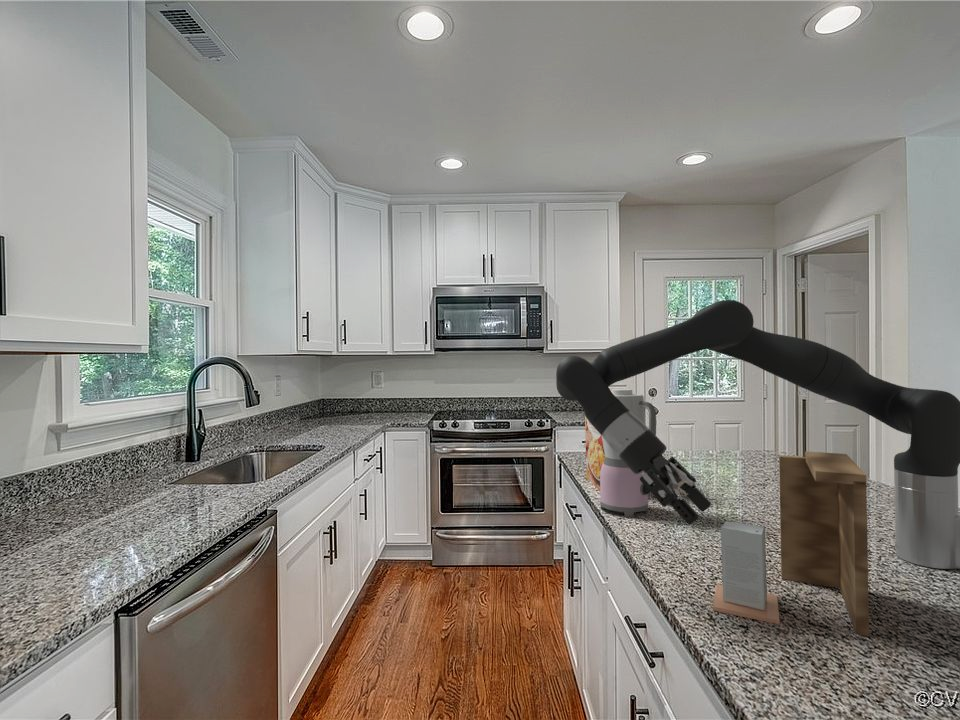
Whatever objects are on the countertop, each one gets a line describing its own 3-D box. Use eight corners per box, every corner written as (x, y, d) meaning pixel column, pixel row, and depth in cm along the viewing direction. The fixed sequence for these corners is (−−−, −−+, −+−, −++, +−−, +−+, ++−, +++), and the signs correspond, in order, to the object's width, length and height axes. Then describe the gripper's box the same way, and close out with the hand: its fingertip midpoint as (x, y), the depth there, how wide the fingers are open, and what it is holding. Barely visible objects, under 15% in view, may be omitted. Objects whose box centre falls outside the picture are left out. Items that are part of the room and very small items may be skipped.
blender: (590, 509, 132) (588, 390, 132) (616, 500, 140) (614, 387, 140) (644, 523, 120) (642, 392, 120) (669, 512, 128) (667, 389, 128)
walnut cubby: (848, 586, 85) (846, 453, 85) (869, 636, 70) (866, 474, 70) (781, 575, 90) (778, 449, 90) (786, 619, 75) (783, 468, 75)
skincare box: (767, 600, 80) (766, 526, 80) (764, 611, 76) (763, 534, 76) (726, 591, 83) (724, 520, 83) (721, 601, 80) (720, 527, 80)
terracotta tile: (777, 598, 82) (777, 595, 82) (779, 624, 74) (779, 620, 74) (716, 587, 86) (716, 583, 86) (713, 610, 78) (713, 606, 78)
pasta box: (586, 477, 168) (584, 389, 168) (609, 477, 168) (608, 389, 168) (605, 496, 145) (603, 394, 145) (632, 495, 145) (630, 393, 145)
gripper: (633, 433, 84) (707, 512, 77) (659, 423, 95) (726, 491, 88) (604, 461, 87) (673, 539, 80) (633, 449, 98) (696, 516, 91)
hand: (701, 514), depth 84 cm, fingers open, 8 cm apart
